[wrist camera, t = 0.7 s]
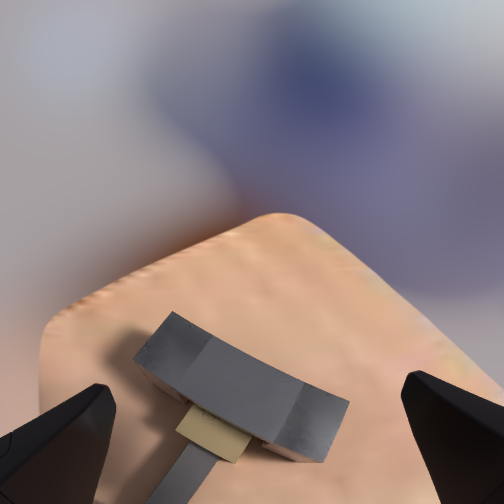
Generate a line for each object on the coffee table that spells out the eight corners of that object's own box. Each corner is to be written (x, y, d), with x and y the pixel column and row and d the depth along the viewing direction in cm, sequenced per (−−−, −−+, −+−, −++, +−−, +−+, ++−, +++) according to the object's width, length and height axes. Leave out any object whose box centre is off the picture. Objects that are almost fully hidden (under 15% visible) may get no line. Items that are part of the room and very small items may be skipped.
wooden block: (232, 463, 14) (235, 464, 12) (181, 434, 15) (175, 430, 13) (267, 406, 18) (274, 397, 15) (218, 380, 19) (218, 367, 16)
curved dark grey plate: (299, 462, 15) (323, 462, 11) (150, 381, 18) (133, 359, 14) (323, 415, 17) (349, 401, 14) (181, 342, 20) (172, 311, 17)
